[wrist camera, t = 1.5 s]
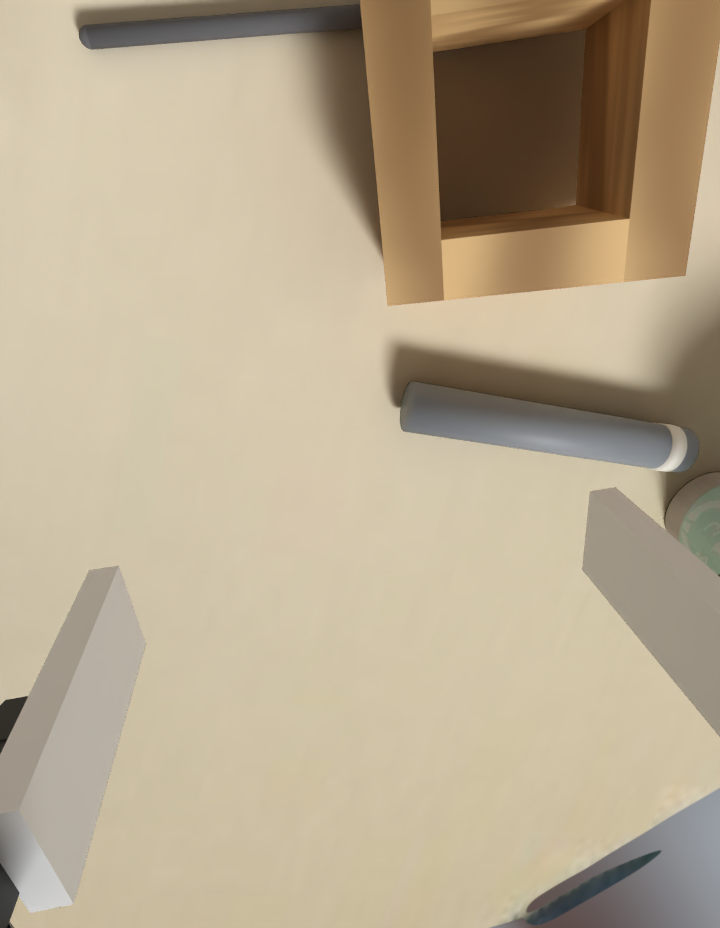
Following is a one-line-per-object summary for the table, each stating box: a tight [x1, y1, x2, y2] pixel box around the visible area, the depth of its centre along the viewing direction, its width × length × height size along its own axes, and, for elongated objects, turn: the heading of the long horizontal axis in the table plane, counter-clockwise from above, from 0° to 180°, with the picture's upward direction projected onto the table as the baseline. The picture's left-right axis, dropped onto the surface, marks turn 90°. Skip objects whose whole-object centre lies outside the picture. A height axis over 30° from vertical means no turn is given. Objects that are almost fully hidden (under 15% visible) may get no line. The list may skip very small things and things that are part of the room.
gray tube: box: [400, 381, 699, 472], centre depth 33 cm, size 3×3×18 cm
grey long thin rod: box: [79, 4, 362, 49], centre depth 24 cm, size 17×1×1 cm, turn 95°
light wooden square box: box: [360, 0, 720, 306], centre depth 23 cm, size 12×12×8 cm
